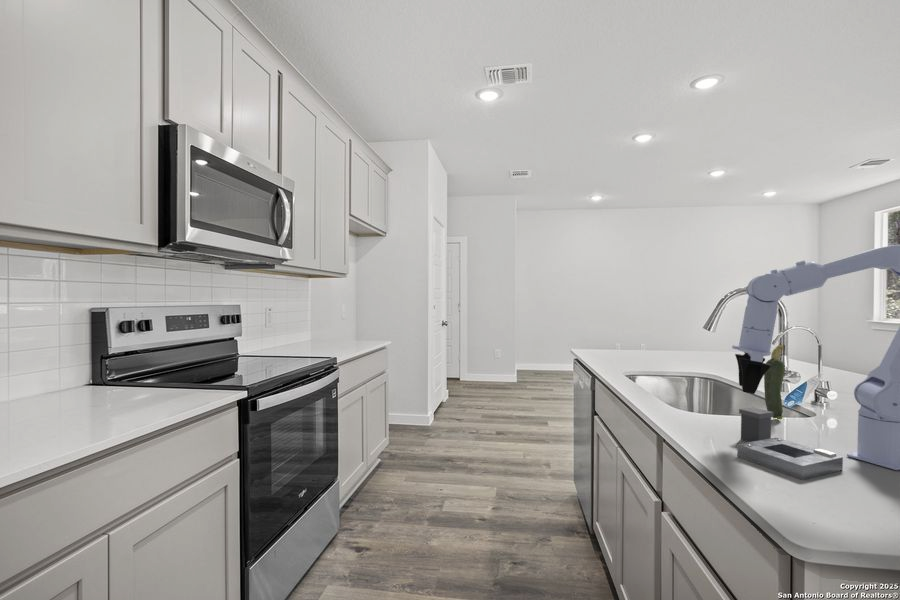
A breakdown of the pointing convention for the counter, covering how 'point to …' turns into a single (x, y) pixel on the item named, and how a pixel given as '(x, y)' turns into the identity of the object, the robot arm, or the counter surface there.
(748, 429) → the plug
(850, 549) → the counter surface
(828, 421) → the counter surface
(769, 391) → the vegetable
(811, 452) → the socket plate
